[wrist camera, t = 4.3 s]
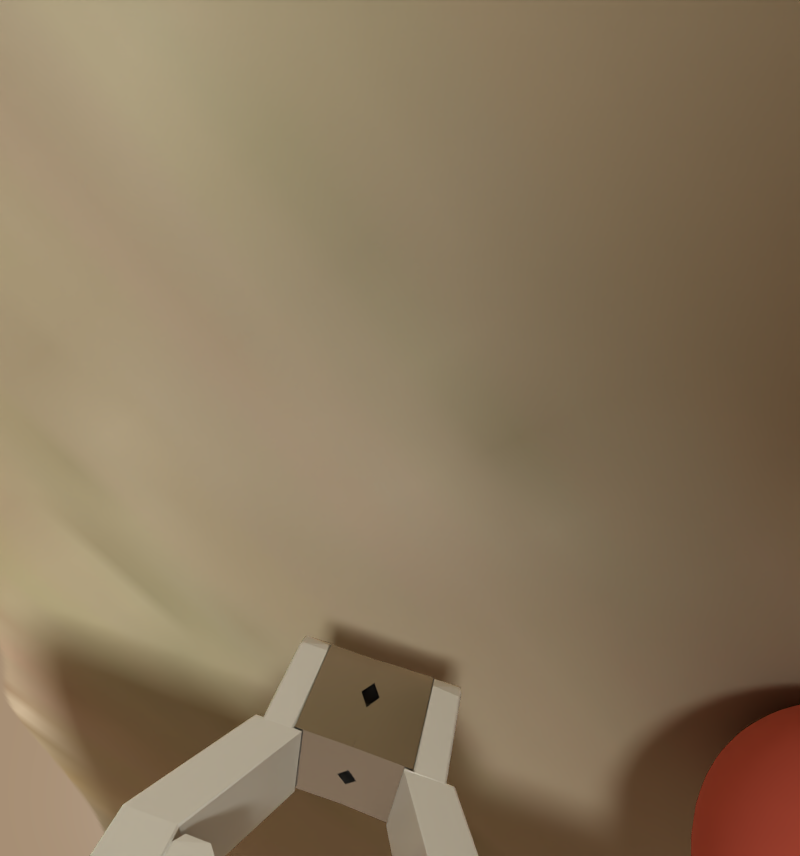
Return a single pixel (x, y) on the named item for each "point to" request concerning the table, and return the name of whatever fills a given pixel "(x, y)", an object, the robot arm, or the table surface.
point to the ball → (753, 793)
